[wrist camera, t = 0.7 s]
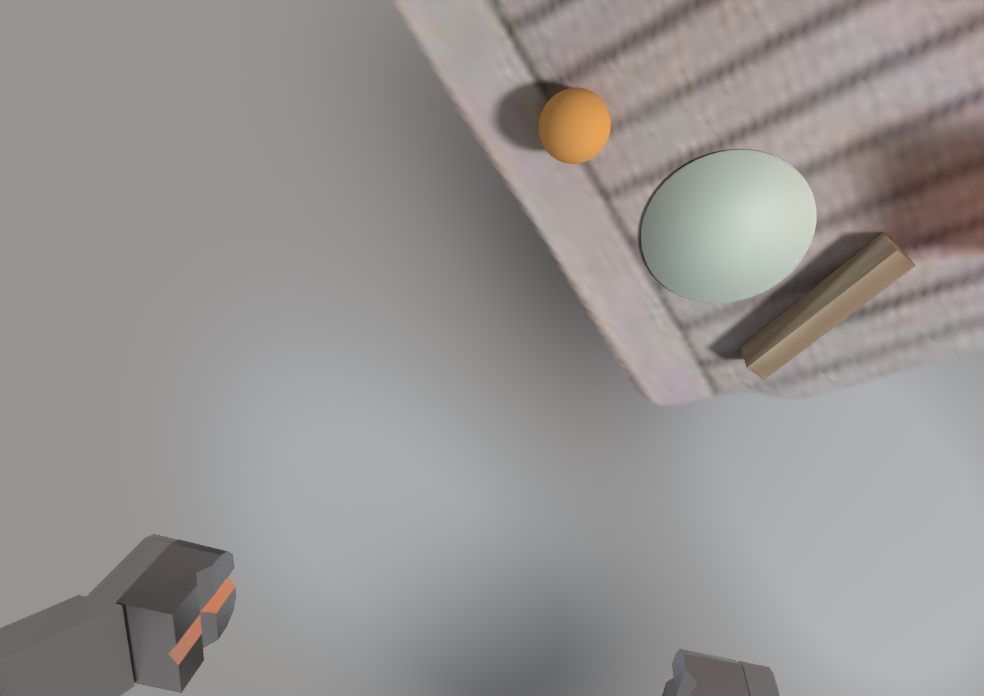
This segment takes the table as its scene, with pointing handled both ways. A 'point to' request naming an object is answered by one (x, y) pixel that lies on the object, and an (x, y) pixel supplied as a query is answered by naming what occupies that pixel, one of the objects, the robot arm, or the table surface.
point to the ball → (574, 125)
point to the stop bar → (826, 305)
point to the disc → (728, 226)
